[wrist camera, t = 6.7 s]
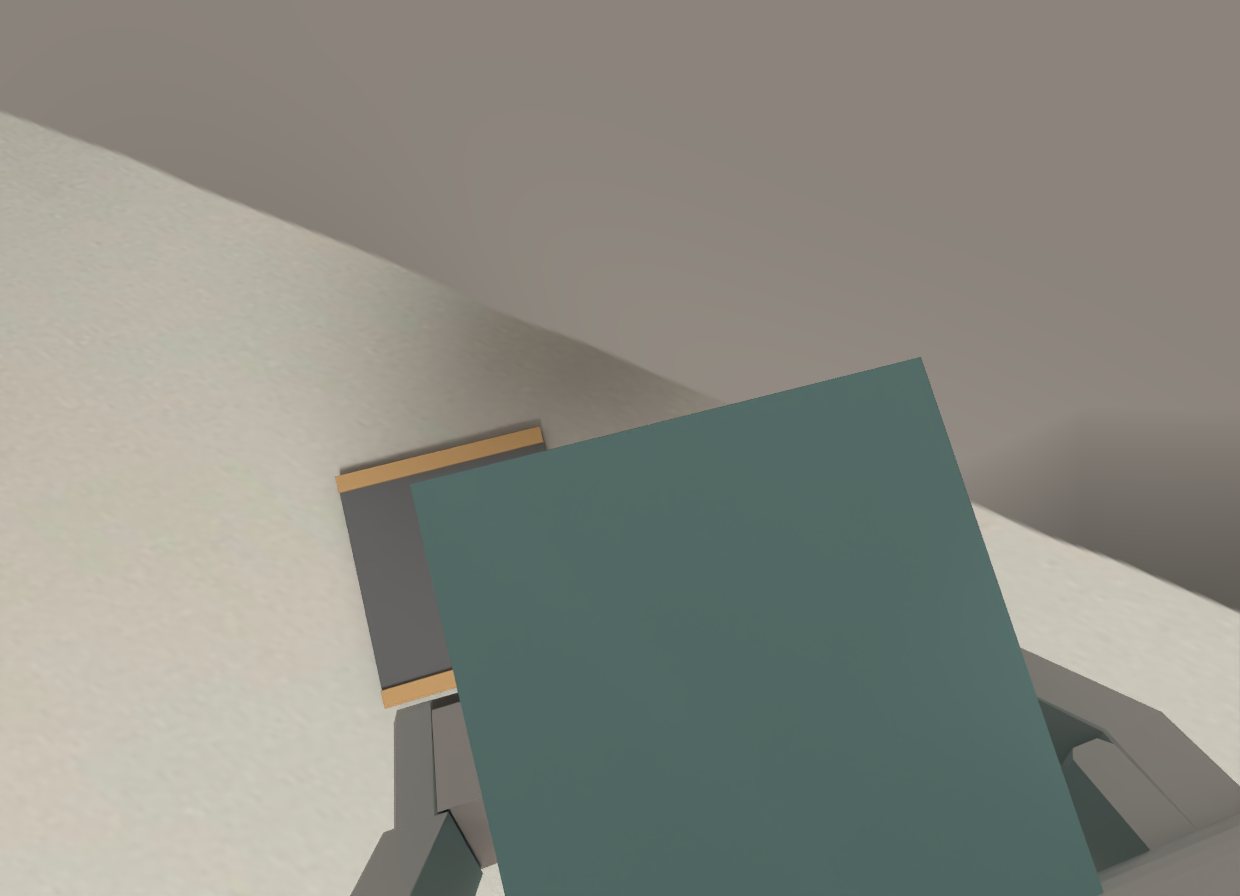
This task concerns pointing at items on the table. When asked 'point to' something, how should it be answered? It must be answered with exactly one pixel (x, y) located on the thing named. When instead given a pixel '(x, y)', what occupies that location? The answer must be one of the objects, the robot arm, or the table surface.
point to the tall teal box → (749, 660)
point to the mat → (409, 561)
